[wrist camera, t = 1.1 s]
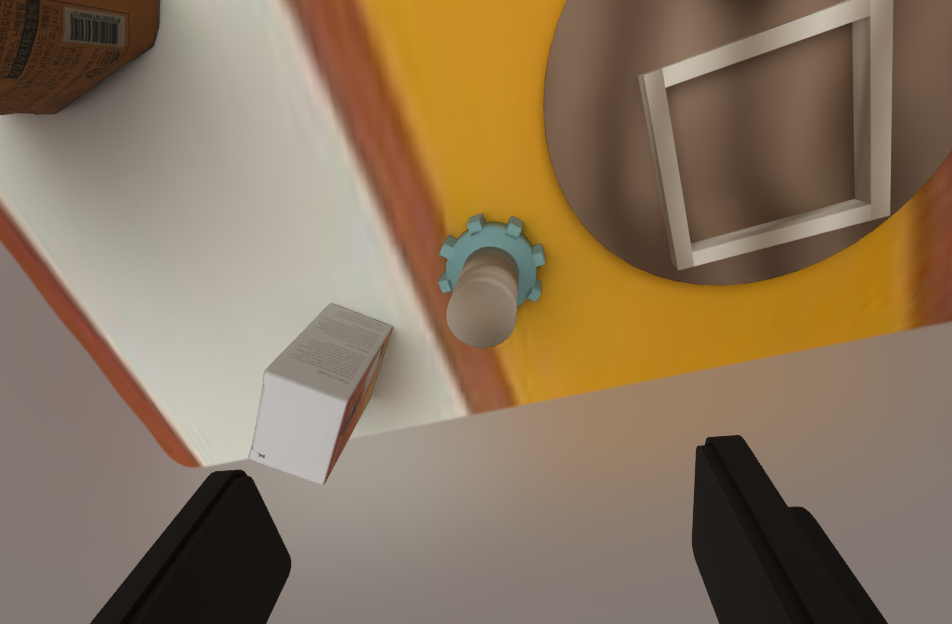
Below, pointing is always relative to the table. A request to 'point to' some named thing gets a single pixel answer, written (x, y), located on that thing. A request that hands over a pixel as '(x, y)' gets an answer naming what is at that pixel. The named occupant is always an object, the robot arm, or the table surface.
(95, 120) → the table surface
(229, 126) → the table surface
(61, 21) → the pancake mix bag
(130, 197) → the table surface
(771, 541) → the robot arm
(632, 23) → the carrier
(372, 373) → the small box
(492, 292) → the gear
